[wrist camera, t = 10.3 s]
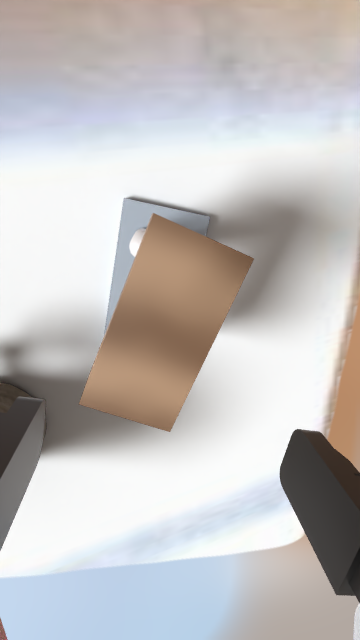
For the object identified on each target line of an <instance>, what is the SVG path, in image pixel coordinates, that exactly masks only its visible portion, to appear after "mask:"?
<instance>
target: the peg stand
mask: <svg viewBox="0 0 360 640" xmlns="http://www.w3.org/2000/svg"><path fill="white" fill-rule="evenodd" d="M152 213H155V214H157V215H159V216H161V217H164V218H166V219H168V220H170V221H172V222H175V223H177V224H179V225H181V226H183V227H186V228H188V229H190V230H192V231H194V232H197V233H199V234H201V235H203V236H206V234H207V229H208V224H209V220H210V217H209V216H204V215H200V214H195V213H190V212H186V211H181V210H177V209H172V208H167V207H163V206H158V205H154V204H149V203H144V202H140V201H135V200H131V199H126V198H124V201H123V207H122V214H121V221H120V228H119V235H118V242H117V249H116V256H115V263H114V270H113V277H112V284H111V291H110V298H109V305H108V312H107V319H106V326H105V333H106V330H107V328H108V325H109V323H110V320H111V318H112V315H113V312H114V310H115V307H116V305H117V302H118V300H119V297H120V295H121V292H122V289H123V287H124V284H125V282H126V279H127V277H128V274H129V272H130V269H131V266H132V264H133V261H134V259H135V256H136V254H137V251H138V249H139V246H140V243H141V241H142V238H143V236H144V233H145V231H146V228H147V226H148V223H149V220H150V218H151V215H152ZM105 333H104V335H105Z"/></svg>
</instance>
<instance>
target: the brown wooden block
mask: <svg viewBox="0 0 360 640" xmlns="http://www.w3.org/2000/svg"><path fill="white" fill-rule="evenodd" d="M253 260H254V258H252V257H250V256H247V255H245V254H243V253H241V252H239V251H236V250H234V249H232V248H230V247H228V246H225V245H223V244H221V243H219V242H217V241H214V240H212V239H210V238H208V237H206V236H203V235H201V234H199V233H197V232H194V231H192V230H190V229H188V228H186V227H183V226H181V225H179V224H177V223H175V222H172V221H170V220H168V219H166V218H164V217H161V216H159V215H157V214H155V213H152V215H151V218H150V220H149V223H148V226H147V228H146V231H145V233H144V236H143V238H142V241H141V243H140V246H139V249H138V251H137V254H136V256H135V259H134V261H133V264H132V266H131V269H130V272H129V274H128V277H127V279H126V282H125V284H124V287H123V289H122V292H121V295H120V297H119V300H118V302H117V305H116V307H115V310H114V312H113V315H112V318H111V320H110V323H109V325H108V328H107V330H106V333H105V335H104V338H103V341H102V343H101V346H100V348H99V351H98V353H97V356H96V359H95V361H94V364H93V366H92V369H91V371H90V374H89V376H88V379H87V382H86V385H85V388H84V391H83V394H82V396H81V399H80V402H79V405H82V406H86V407H89V408H92V409H96V410H99V411H102V412H106V413H109V414H112V415H116V416H119V417H122V418H125V419H129V420H132V421H135V422H139V423H142V424H145V425H149V426H152V427H155V428H158V429H162V430H165V431H168V432H170V431H171V429H172V426H173V424H174V422H175V420H176V418H177V416H178V414H179V412H180V410H181V408H182V406H183V404H184V402H185V400H186V398H187V396H188V394H189V392H190V389H191V387H192V385H193V383H194V381H195V379H196V377H197V375H198V373H199V371H200V369H201V367H202V365H203V363H204V361H205V359H206V357H207V355H208V352H209V350H210V348H211V346H212V344H213V342H214V340H215V338H216V336H217V334H218V332H219V330H220V328H221V326H222V324H223V322H224V320H225V317H226V315H227V313H228V311H229V309H230V307H231V305H232V303H233V301H234V299H235V297H236V295H237V293H238V291H239V289H240V287H241V285H242V283H243V280H244V278H245V276H246V274H247V272H248V270H249V268H250V266H251V264H252V262H253Z"/></svg>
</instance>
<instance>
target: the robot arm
mask: <svg viewBox="0 0 360 640" xmlns="http://www.w3.org/2000/svg"><path fill="white" fill-rule="evenodd" d="M45 411H46V400H45V399H38V398H29V397H21V396H19V397H17V399H16V400H15V401H14V403H13V404H12V406H11V407H10V409H9V410H8V411H7V413H2V412H0V550H1V548H2V546H3V543H4V541H5V539H6V536H7V534H8V532H9V529H10V527H11V525H12V522H13V520H14V518H15V515H16V513H17V511H18V508H19V506H20V503H21V501H22V499H23V496H24V494H25V492H26V489H27V487H28V485H29V482H30V480H31V478H32V475H33V473H34V471H35V468H36V466H37V463H38V460H39V457H40V453H41V449H42V443H43V432H44V422H45ZM280 481H281V485H282V487H283V489H284V491H285V493H286V495H287V497H288V499H289V501H290V503H291V505H292V507H293V509H294V511H295V513H296V515H297V517H298V519H299V521H300V523H301V525H302V527H303V529H304V531H305V533H306V535H307V537H308V539H309V541H310V543H311V545H312V547H313V549H314V551H315V553H316V555H317V557H318V559H319V561H320V563H321V565H322V567H323V569H324V571H325V573H326V575H327V577H328V579H329V581H330V583H331V585H332V587H333V589H334V591H335V593H336V595H351V596H356V597H357V599H358V601H359V605H358V606H357V609H356V611H355V619H354V637H353V640H360V473H359V472H358V470H357V469H356V468H355V467H354V466H353V464H352V463H351V462H350V461H349V460H348V459H346V458H345V457H344V456H343V455H342V454H340V453H339V452H338V451H337V450H335V449H334V448H333V447H332V446H331V444H330V443H329V442H328V441H327V439H326V438H325V437H324V436H323V434H322V433H320V432H318V431H309V430H301V429H297V430H295V431H294V432H293V434H292V436H291V439H290V441H289V444H288V447H287V450H286V453H285V455H284V458H283V461H282V464H281V467H280ZM0 640H7V637H6V634H5V631H4V628H3V625H2V622H1V619H0Z"/></svg>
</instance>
